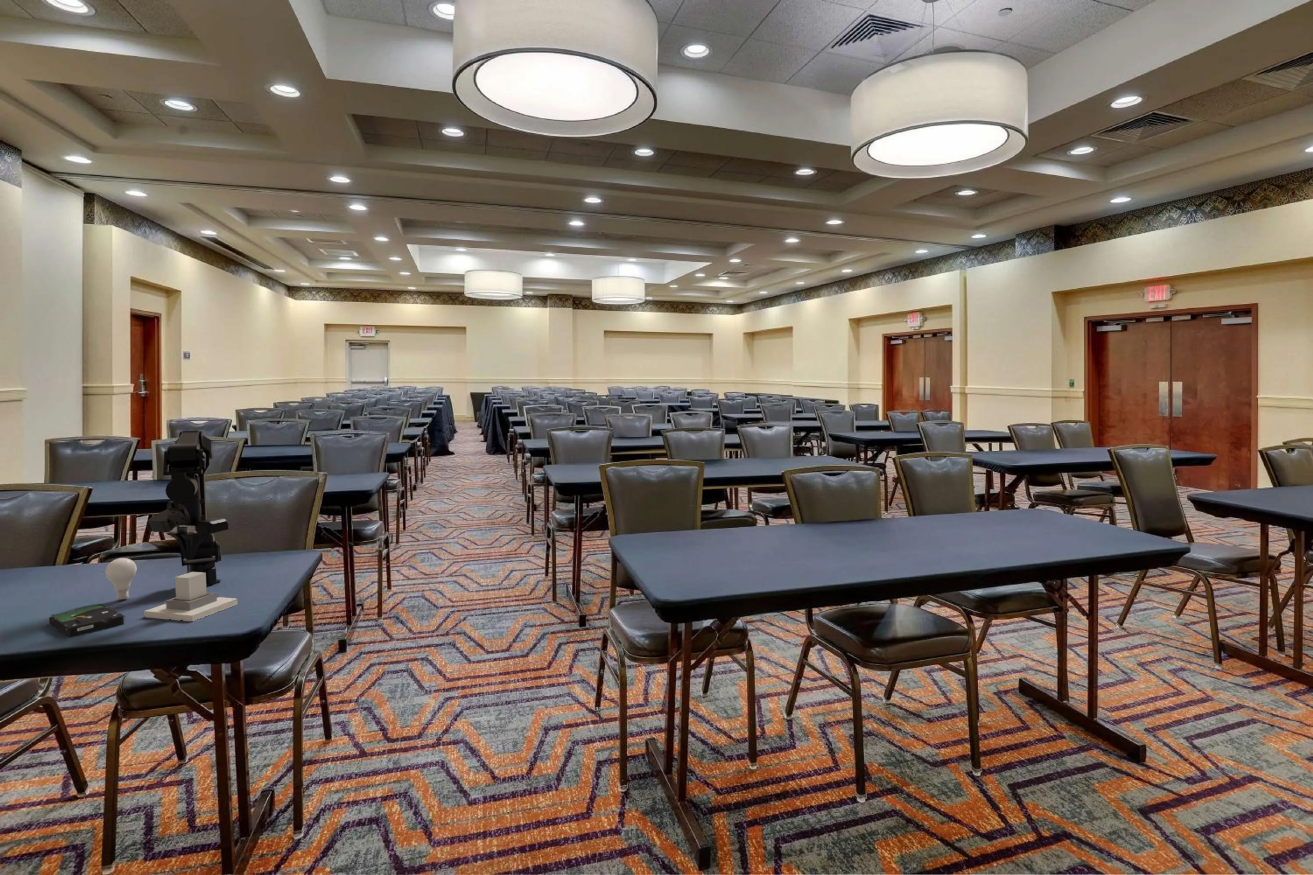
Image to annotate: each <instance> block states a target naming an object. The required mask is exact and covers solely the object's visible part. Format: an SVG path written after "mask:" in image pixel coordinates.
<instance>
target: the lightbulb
mask: <svg viewBox="0 0 1313 875" xmlns="http://www.w3.org/2000/svg"><path fill="white" fill-rule="evenodd" d="M137 567H138V566H137V565H136V563H135V562H134V560H132V559H130V558H127V557H119V558H116V559H114V560H112V561H111V562H109V563H108V565H106V568H105V576H106V579H108V580H109V581H110V582H111V583H112V585H113V587H114V589H115V593H116V598H115V599H116V600H119V601H125V600H127V599H129V598H130V586H131V585H132V584H131V583H132V581H133V579H134V577H136V574H137Z"/></svg>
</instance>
